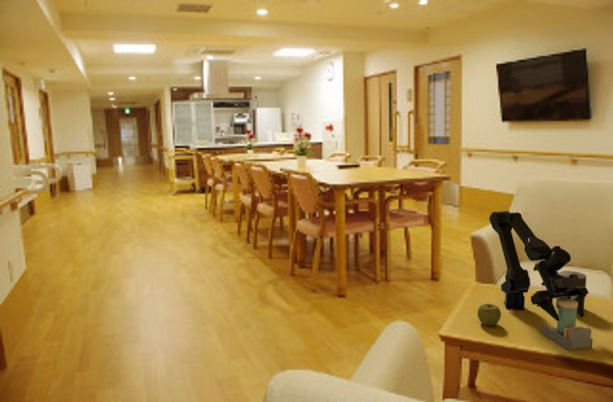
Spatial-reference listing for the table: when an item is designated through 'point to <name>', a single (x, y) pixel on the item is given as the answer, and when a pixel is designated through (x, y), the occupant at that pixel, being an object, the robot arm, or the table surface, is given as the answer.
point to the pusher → (566, 331)
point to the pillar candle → (582, 283)
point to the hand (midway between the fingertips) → (570, 319)
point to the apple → (489, 314)
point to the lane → (570, 337)
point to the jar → (566, 314)
